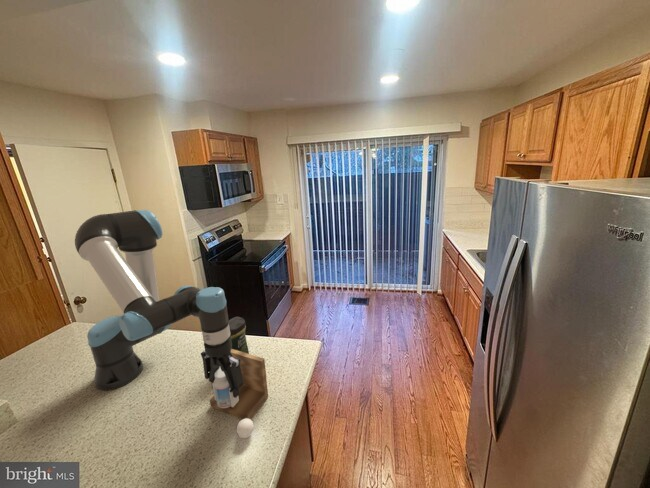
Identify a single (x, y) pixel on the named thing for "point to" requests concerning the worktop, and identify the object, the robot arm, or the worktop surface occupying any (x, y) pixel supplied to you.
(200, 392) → the worktop surface
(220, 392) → the pill bottle
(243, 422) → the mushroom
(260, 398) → the brown piece
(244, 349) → the coffee jar
